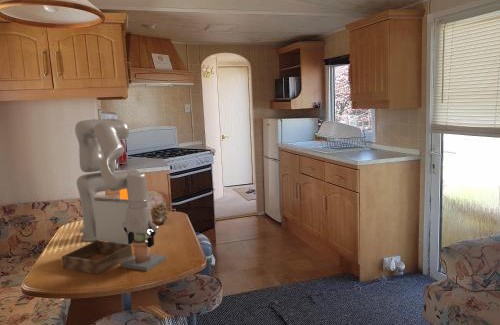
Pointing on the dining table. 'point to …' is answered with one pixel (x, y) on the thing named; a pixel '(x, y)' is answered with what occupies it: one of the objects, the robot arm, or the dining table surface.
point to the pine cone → (159, 213)
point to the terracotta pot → (141, 248)
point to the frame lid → (111, 219)
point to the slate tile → (143, 265)
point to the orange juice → (123, 194)
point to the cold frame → (116, 256)
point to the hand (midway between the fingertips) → (141, 244)
